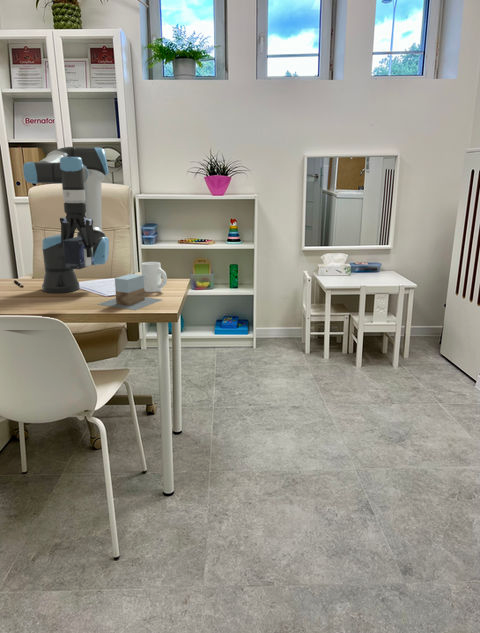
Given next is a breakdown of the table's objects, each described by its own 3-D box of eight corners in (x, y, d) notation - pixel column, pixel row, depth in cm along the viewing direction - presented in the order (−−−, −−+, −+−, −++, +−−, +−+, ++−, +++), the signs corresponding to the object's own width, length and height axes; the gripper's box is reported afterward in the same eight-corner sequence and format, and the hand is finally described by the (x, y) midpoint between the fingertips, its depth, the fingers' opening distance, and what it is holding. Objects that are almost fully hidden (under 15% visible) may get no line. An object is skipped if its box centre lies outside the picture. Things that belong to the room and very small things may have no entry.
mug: (160, 294, 200) (159, 266, 197) (138, 291, 206) (137, 263, 202) (172, 291, 207) (171, 263, 204) (150, 287, 213) (149, 261, 209)
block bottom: (116, 303, 184) (115, 291, 182) (132, 298, 192) (131, 286, 191) (129, 305, 181) (128, 292, 180) (144, 300, 190) (144, 287, 189)
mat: (96, 305, 183) (96, 304, 183) (126, 295, 198) (126, 294, 198) (135, 311, 175) (135, 310, 175) (163, 300, 191) (163, 299, 191)
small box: (80, 269, 174) (78, 240, 171) (64, 269, 175) (61, 240, 172) (95, 264, 184) (92, 236, 181) (79, 263, 185) (77, 236, 182)
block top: (115, 291, 182) (114, 278, 181) (131, 286, 191) (131, 273, 190) (128, 292, 180) (127, 279, 178) (144, 287, 189) (143, 275, 187)
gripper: (45, 201, 173) (52, 263, 180) (89, 203, 165) (94, 269, 172) (61, 200, 180) (67, 260, 186) (103, 202, 172) (108, 265, 178)
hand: (80, 264), depth 179 cm, fingers closed on small box, 7 cm apart
